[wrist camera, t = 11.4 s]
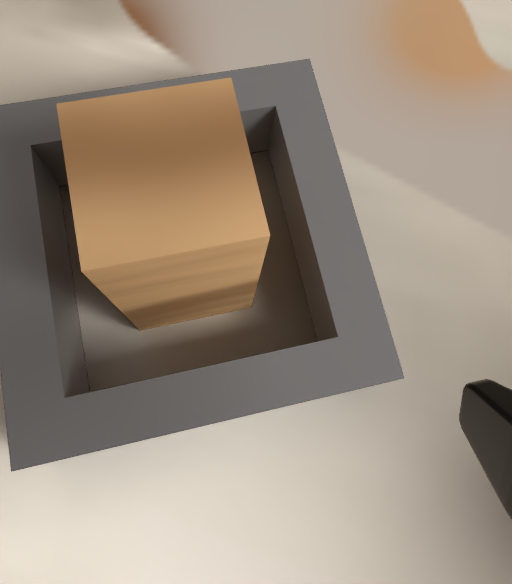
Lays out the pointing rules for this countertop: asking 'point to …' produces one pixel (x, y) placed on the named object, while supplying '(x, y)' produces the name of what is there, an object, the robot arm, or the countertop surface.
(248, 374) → the collar
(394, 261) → the countertop surface
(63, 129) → the oak block
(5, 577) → the countertop surface
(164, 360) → the countertop surface
